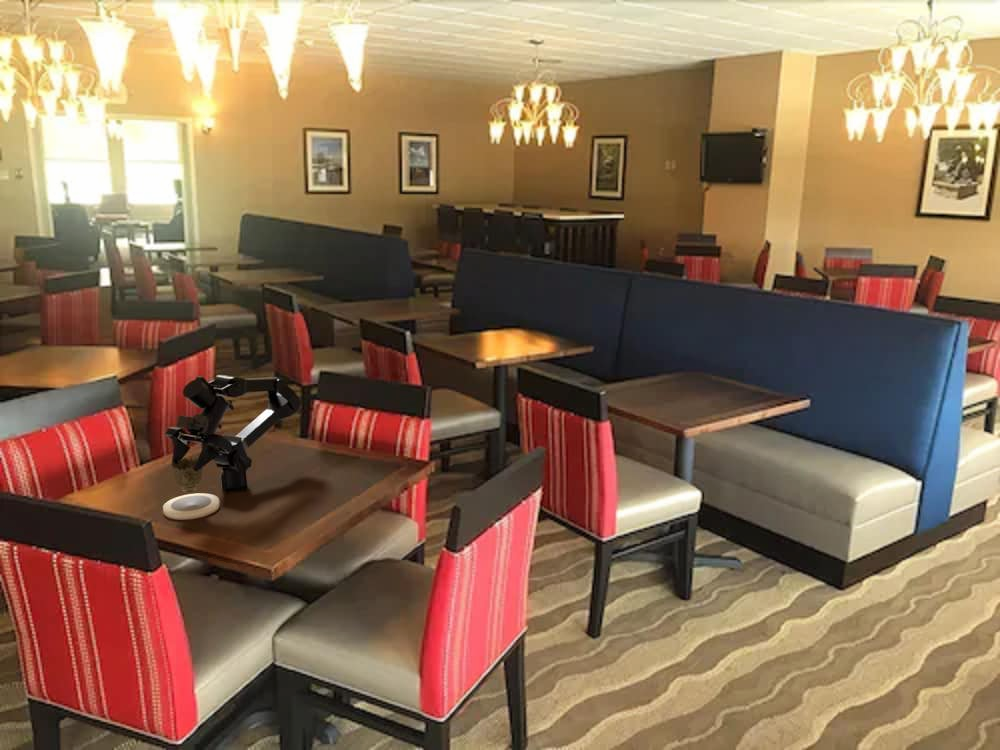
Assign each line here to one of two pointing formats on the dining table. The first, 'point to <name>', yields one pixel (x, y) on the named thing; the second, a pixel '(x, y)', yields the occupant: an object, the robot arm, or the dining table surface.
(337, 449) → the dining table surface
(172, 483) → the dining table surface
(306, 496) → the dining table surface
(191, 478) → the cup
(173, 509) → the hub plate
